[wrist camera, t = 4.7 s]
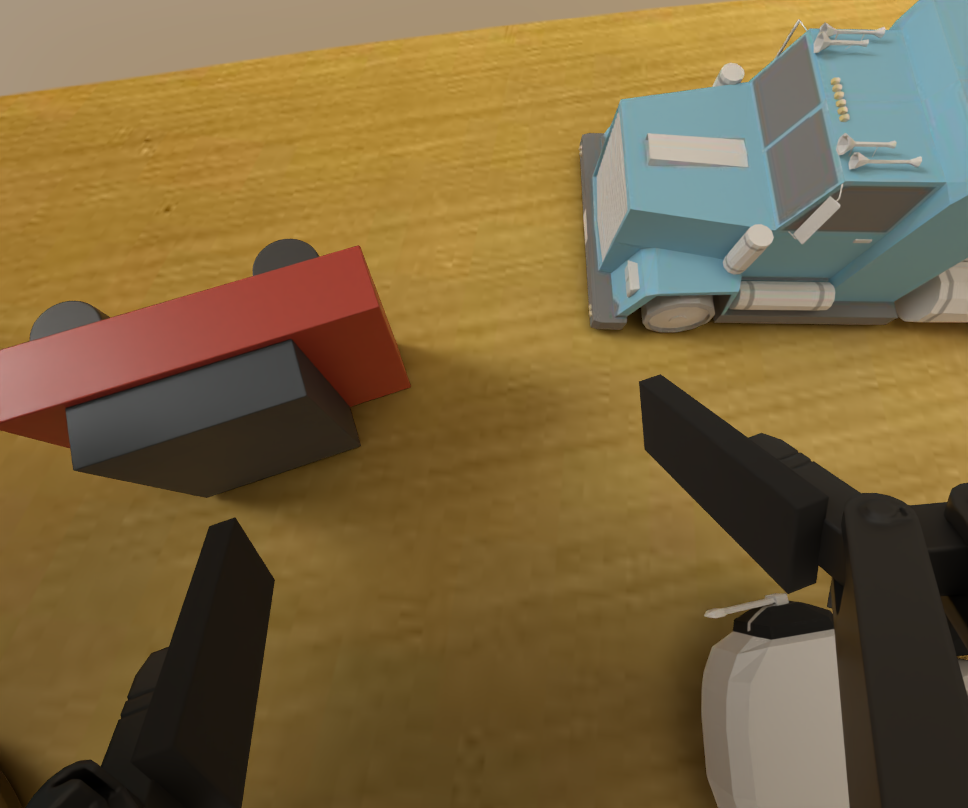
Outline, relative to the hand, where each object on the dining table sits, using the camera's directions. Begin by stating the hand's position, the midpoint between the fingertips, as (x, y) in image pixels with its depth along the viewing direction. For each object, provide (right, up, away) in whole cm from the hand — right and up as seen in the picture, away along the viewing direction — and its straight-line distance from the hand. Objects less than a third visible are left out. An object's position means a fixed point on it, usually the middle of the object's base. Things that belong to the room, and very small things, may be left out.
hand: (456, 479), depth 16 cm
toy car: (-9, +2, +10) cm, 13 cm away
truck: (+21, +12, +13) cm, 27 cm away
